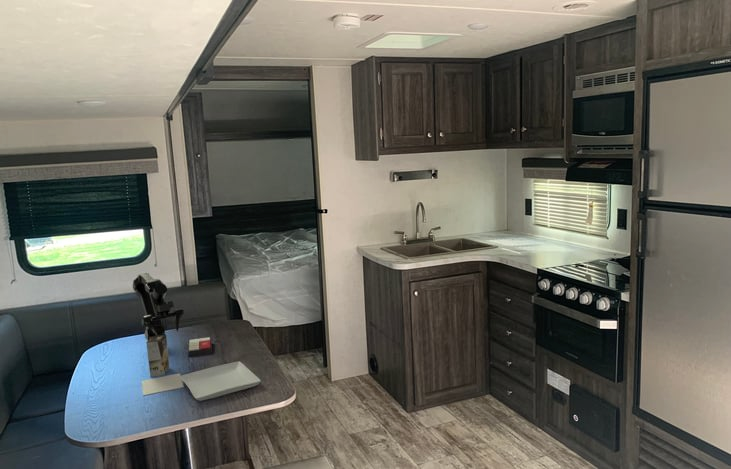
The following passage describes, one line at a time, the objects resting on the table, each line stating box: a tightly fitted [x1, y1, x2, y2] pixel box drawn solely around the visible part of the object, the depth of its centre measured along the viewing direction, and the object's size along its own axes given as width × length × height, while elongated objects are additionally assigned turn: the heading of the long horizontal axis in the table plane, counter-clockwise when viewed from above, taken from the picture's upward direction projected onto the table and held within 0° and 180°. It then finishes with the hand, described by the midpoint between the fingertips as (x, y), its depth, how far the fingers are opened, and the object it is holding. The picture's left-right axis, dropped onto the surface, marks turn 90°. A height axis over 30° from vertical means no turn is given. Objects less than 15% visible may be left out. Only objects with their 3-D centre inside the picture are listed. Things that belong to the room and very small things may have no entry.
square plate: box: [180, 361, 262, 402], centre depth 230 cm, size 27×27×4 cm
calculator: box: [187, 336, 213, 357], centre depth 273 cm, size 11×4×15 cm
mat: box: [141, 372, 185, 397], centre depth 234 cm, size 16×16×1 cm
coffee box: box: [146, 334, 171, 377], centre depth 246 cm, size 9×6×16 cm
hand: (167, 333), depth 255 cm, fingers open, 9 cm apart
